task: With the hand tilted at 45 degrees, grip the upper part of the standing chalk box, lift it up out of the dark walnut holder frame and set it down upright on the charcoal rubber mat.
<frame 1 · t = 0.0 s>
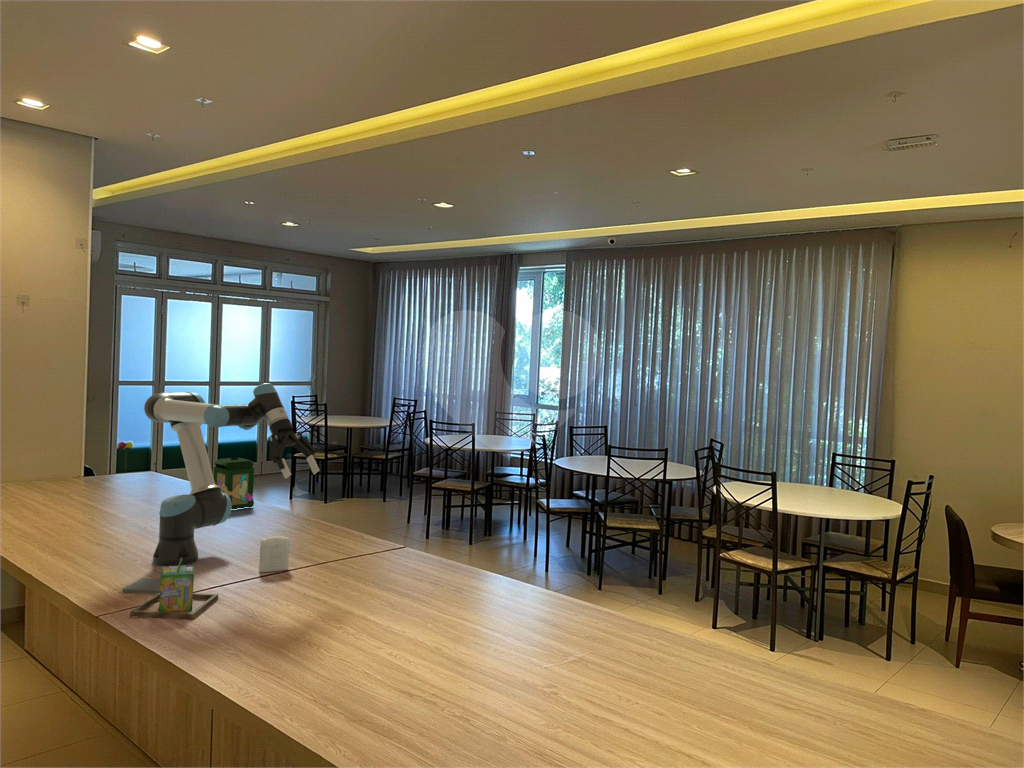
hand: (302, 474, 247), 36 cm above the table, tool tilted 35°, fingers open, 13 cm apart
mat: (151, 587, 229), on the table
holder frame: (175, 607, 212), on the table
white tombstone: (273, 571, 253), on the table
chalk box: (175, 608, 212), resting in holder frame
container: (232, 507, 353), on the table
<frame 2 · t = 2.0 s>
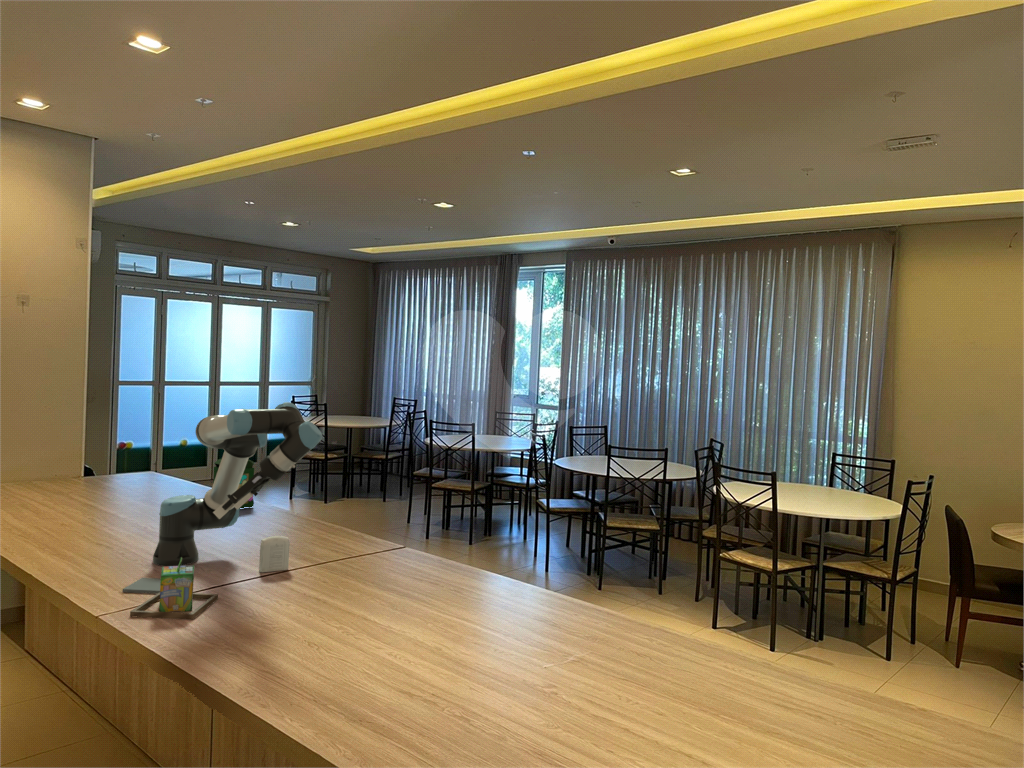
hand: (225, 510, 212), 30 cm above the table, tool tilted 45°, fingers open, 13 cm apart
nothing on the table moved.
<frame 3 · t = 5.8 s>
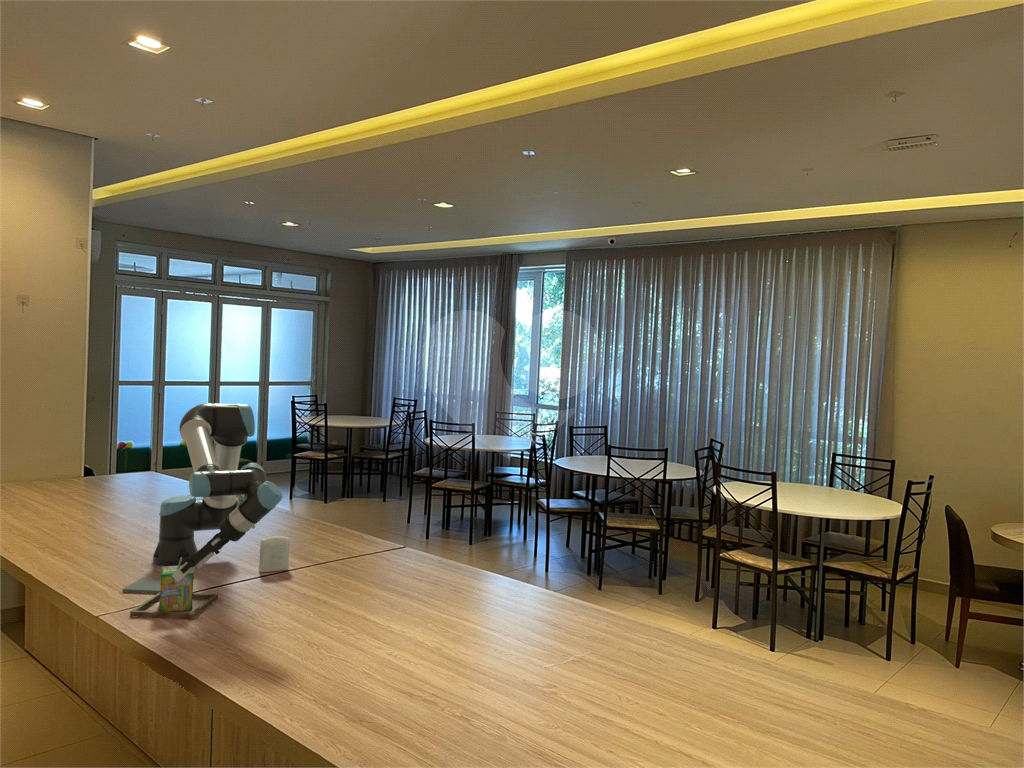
hand: (185, 571, 211), 11 cm above the table, tool tilted 45°, fingers open, 13 cm apart
chalk box: (175, 607, 212), resting in holder frame, touching gripper
everything else where it was.
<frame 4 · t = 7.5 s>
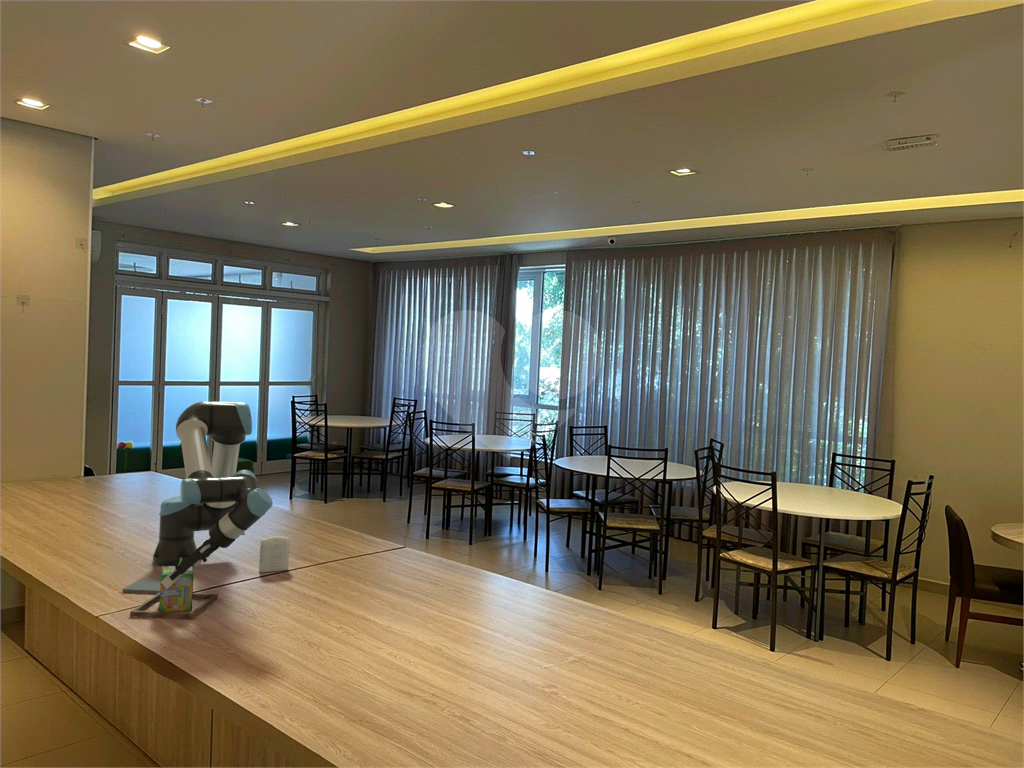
hand: (174, 578, 212), 9 cm above the table, tool tilted 45°, fingers closed on chalk box, 11 cm apart
chalk box: (175, 608, 212), resting in holder frame, touching gripper
everything else where it was.
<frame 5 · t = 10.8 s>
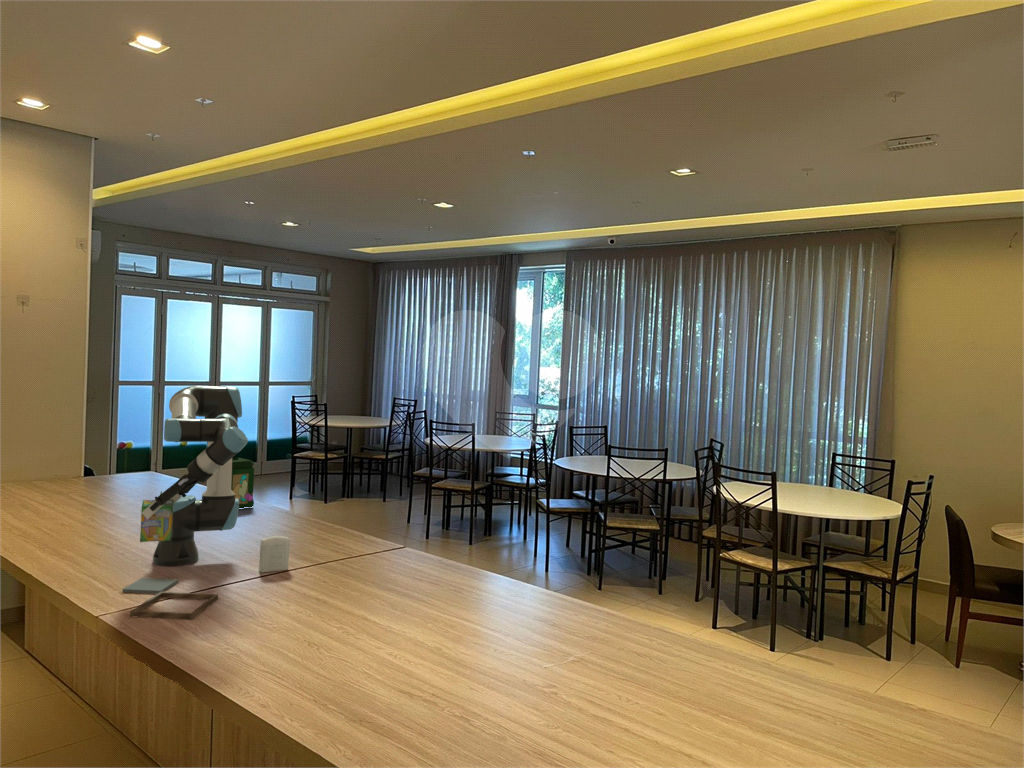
hand: (154, 511, 225), 26 cm above the table, tool tilted 45°, fingers closed on chalk box, 11 cm apart
chalk box: (156, 538, 225), point 17 cm above the table, touching gripper
everything else where it was.
when the fingers open (11 cm above the table, at t = 14.5 s): chalk box drops 2 cm, resting on mat.
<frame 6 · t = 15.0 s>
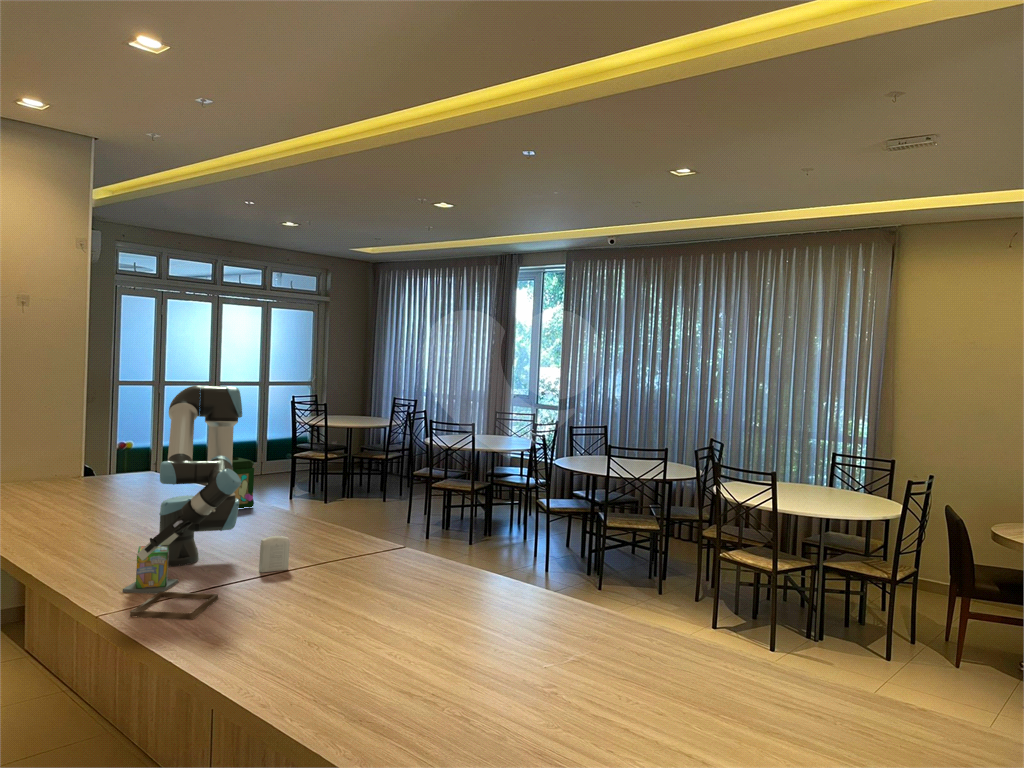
hand: (150, 551, 229), 12 cm above the table, tool tilted 45°, fingers open, 13 cm apart
chalk box: (151, 584, 229), point 1 cm above the table, touching mat
everything else where it was.
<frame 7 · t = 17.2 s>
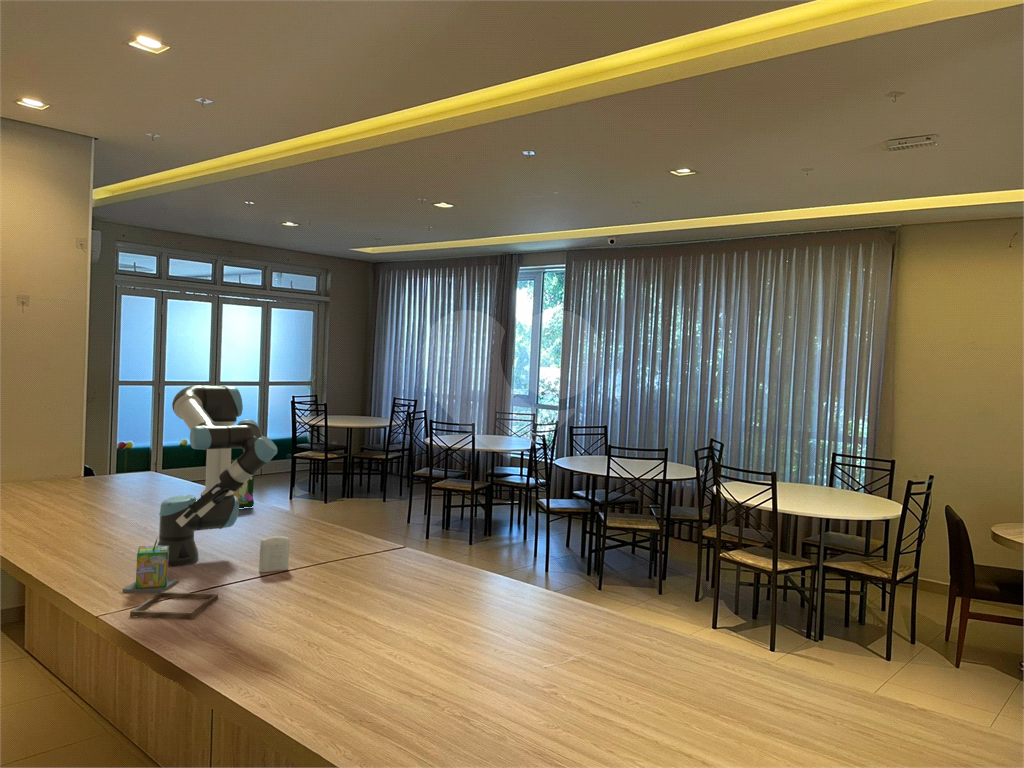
hand: (188, 518, 230), 22 cm above the table, tool tilted 45°, fingers open, 13 cm apart
nothing on the table moved.
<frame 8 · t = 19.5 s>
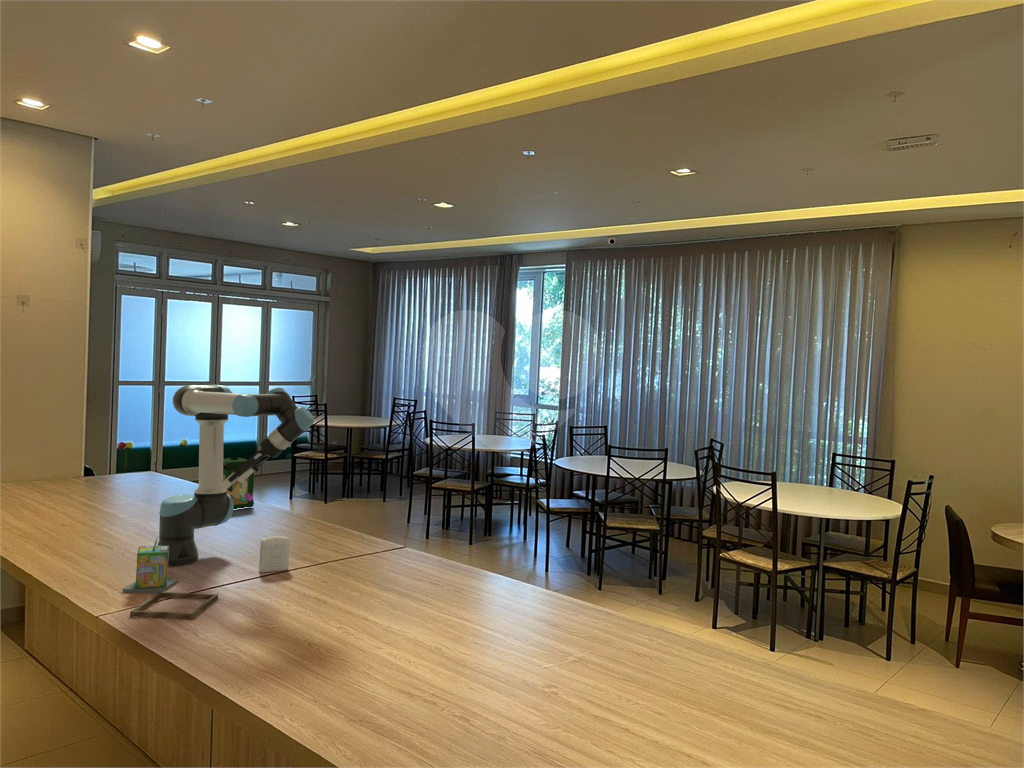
hand: (231, 483, 246), 32 cm above the table, tool tilted 45°, fingers open, 13 cm apart
nothing on the table moved.
at the end: chalk box inside the target area (0.2 cm from its centre), point 0.8 cm above the table; chalk box tilted 0°; chalk box touching mat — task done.
